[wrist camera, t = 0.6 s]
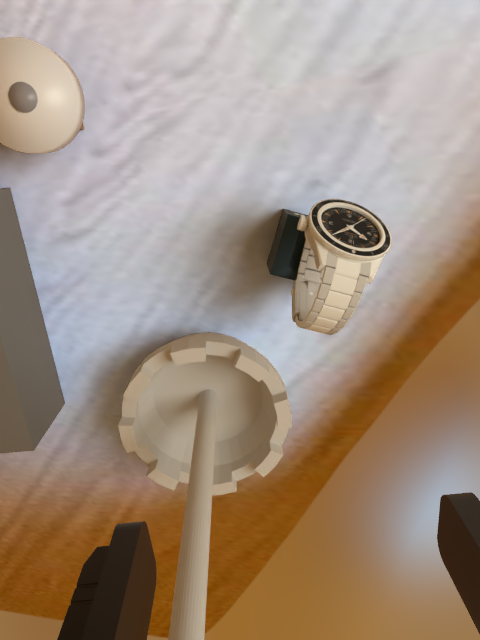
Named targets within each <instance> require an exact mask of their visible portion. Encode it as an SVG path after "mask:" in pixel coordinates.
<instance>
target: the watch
mask: <svg viewBox="0 0 480 640" xmlns="http://www.w3.org/2000/svg"><path fill="white" fill-rule="evenodd" d="M391 241H392V239H391V235H390V232H389V230H388V229H387V227H386V225H385V224H384V223H383V221H382V220H380V219H379V217H377V216H376V215H375V214H374V213H372V212H371V211H369V210H368V209H366V208H364V207H362V206H360V205H358V204H355V203H352V202H349V201H345V200H340V199H328V200H323V201H320V202H318V203H316V204H315V205H314V206H313V207H312V208H311V211H310V213H309V216H308V215H304V214H301V213H297V212H293V211H290V210H286V209H283V211H282V214H281V217H280V221H279V224H278V228H277V231H276V234H275V238H274V241H273V245H272V248H271V251H270V255H269V258H268V262H267V266H268V269H269V272H270V274H272V275H276V276H280V277H284V278H288V279H292V280H295V282H294V283H293V289H292V291H291V295H292V318H293V321H294V322H296V325H297V326H298V327H300V328H304V329H308V330H312V331H316V332H321V333H325V334H329V335H332V334H335V333H337V332H338V331H340V329H342V328H343V327H344V326H345V325H346V323H347V322H348V320H349V319H350V317H351V316H352V314H353V313H354V311H355V308H356V307H357V305H358V303H359V300H360V298H361V296H362V292H363V290H364V288H365V285H366V283H369V284H370V283H371V281H372V280H373V278H374V276H375V274H376V272H377V270H378V268H379V265H380V263H381V261H382V259H383V257H384V255H385V254H386V253H387V252H388V250H389V249H390V247H391V243H392V242H391Z"/></svg>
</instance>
